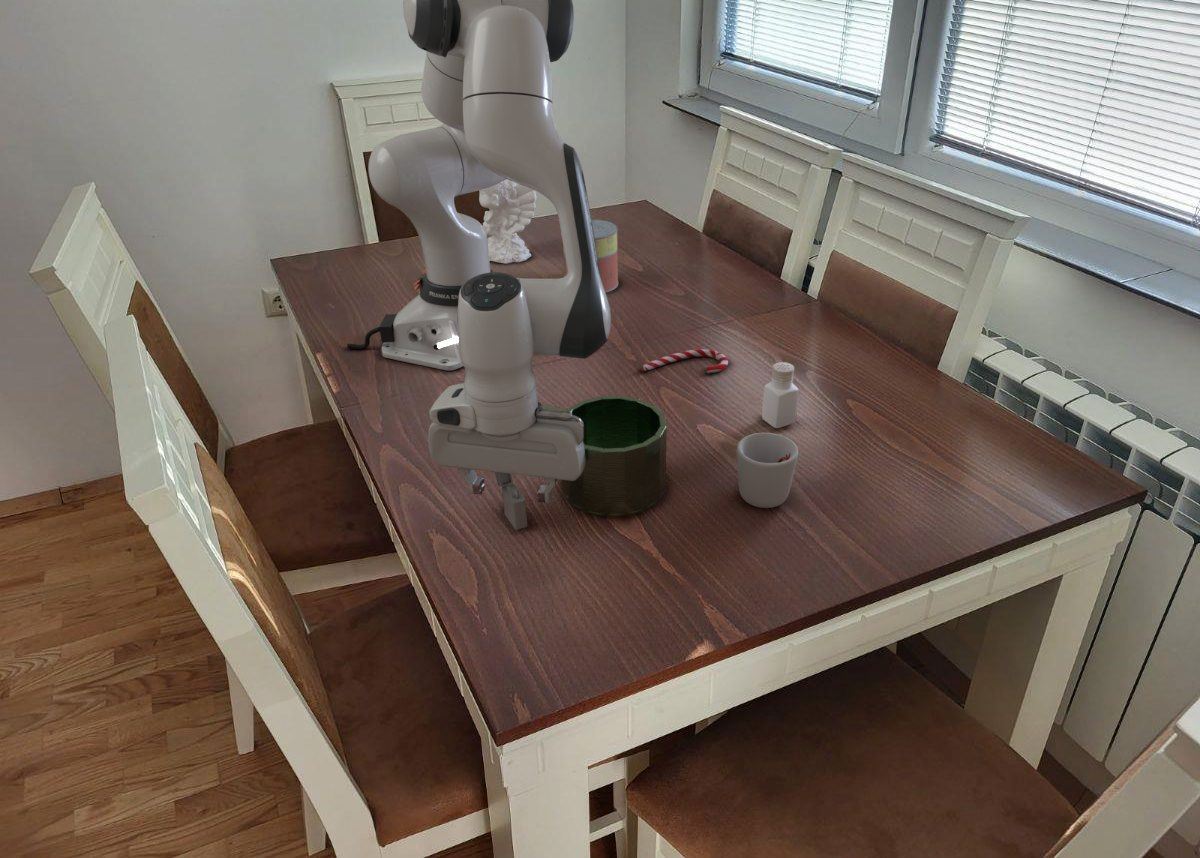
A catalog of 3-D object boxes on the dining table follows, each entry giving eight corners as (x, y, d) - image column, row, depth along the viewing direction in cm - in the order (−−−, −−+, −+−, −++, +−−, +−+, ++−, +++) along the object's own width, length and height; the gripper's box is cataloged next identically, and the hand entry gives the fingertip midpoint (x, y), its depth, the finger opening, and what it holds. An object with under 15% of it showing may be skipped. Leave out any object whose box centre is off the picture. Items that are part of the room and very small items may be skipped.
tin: (562, 519, 117) (558, 453, 112) (563, 459, 130) (560, 397, 124) (669, 515, 118) (670, 449, 112) (660, 456, 130) (661, 394, 124)
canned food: (628, 280, 187) (628, 224, 181) (599, 298, 179) (598, 241, 173) (583, 270, 192) (581, 216, 186) (554, 288, 184) (550, 232, 178)
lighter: (528, 526, 116) (523, 476, 112) (515, 530, 116) (511, 480, 112) (507, 498, 122) (502, 449, 118) (495, 502, 121) (490, 453, 117)
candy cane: (636, 356, 154) (717, 344, 157) (636, 363, 155) (717, 351, 158) (649, 376, 148) (734, 364, 151) (649, 383, 148) (733, 371, 151)
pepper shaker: (775, 430, 135) (780, 375, 130) (759, 418, 138) (764, 364, 133) (796, 423, 136) (802, 369, 131) (780, 412, 139) (785, 358, 134)
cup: (724, 471, 126) (726, 423, 122) (779, 467, 127) (783, 419, 122) (740, 517, 117) (744, 466, 113) (800, 512, 117) (805, 462, 113)
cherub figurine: (478, 246, 206) (469, 160, 196) (530, 241, 209) (524, 155, 198) (485, 266, 196) (476, 176, 185) (541, 260, 198) (535, 170, 187)
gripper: (589, 400, 110) (593, 491, 117) (436, 385, 115) (449, 474, 122) (576, 426, 105) (581, 519, 112) (416, 410, 109) (431, 500, 117)
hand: (511, 495), depth 117 cm, fingers open, 8 cm apart
